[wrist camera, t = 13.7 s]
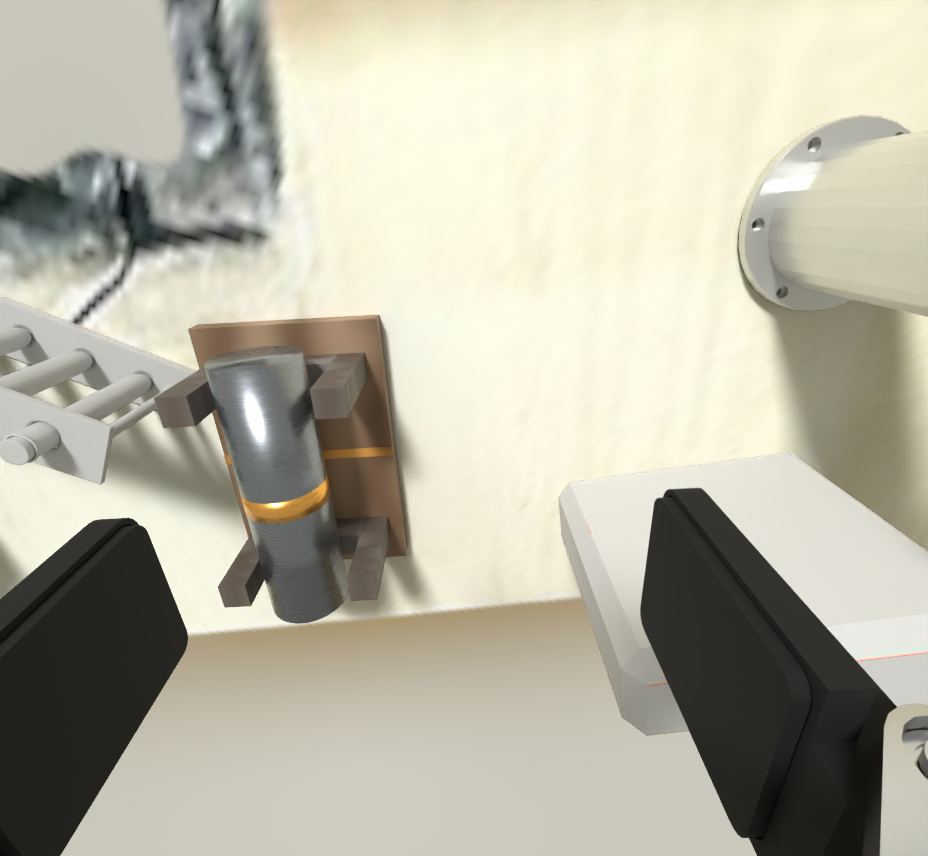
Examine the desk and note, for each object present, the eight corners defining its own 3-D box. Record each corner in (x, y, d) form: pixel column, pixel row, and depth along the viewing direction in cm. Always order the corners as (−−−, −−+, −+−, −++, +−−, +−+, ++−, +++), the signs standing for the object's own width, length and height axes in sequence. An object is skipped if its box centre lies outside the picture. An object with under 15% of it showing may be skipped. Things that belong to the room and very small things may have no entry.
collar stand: (378, 314, 37) (355, 346, 28) (407, 545, 46) (396, 622, 37) (197, 324, 37) (119, 359, 28) (262, 553, 46) (217, 632, 37)
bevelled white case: (560, 547, 47) (628, 764, 28) (554, 476, 43) (627, 670, 25) (781, 518, 46) (998, 723, 27) (792, 443, 42) (1048, 620, 24)
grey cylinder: (316, 344, 34) (281, 370, 28) (357, 569, 42) (336, 623, 36) (232, 347, 34) (183, 373, 29) (289, 569, 42) (259, 623, 37)
